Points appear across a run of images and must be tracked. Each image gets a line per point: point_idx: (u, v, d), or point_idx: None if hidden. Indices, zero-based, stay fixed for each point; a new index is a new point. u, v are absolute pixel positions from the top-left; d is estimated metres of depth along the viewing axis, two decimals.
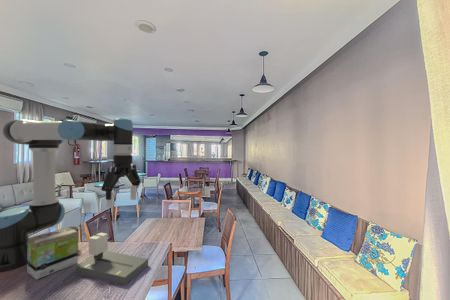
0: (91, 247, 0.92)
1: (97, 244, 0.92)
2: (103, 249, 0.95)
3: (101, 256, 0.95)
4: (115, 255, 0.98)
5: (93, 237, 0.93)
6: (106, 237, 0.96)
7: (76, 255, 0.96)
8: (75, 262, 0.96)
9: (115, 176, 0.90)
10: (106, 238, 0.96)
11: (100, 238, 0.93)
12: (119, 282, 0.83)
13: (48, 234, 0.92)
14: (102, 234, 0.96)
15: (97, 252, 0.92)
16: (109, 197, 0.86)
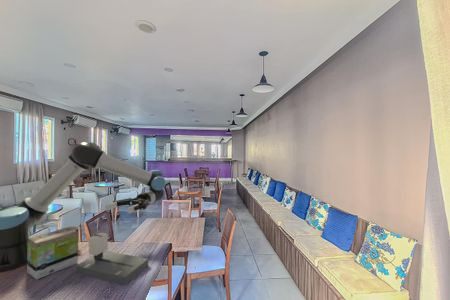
0: (91, 247, 0.92)
1: (97, 244, 0.92)
2: (103, 249, 0.95)
3: (101, 256, 0.95)
4: (115, 255, 0.98)
5: (93, 237, 0.93)
6: (106, 237, 0.96)
7: (76, 255, 0.96)
8: (75, 262, 0.96)
9: None
10: (106, 238, 0.96)
11: (100, 238, 0.93)
12: (119, 282, 0.83)
13: (48, 234, 0.92)
14: (102, 234, 0.96)
15: (97, 252, 0.92)
16: None
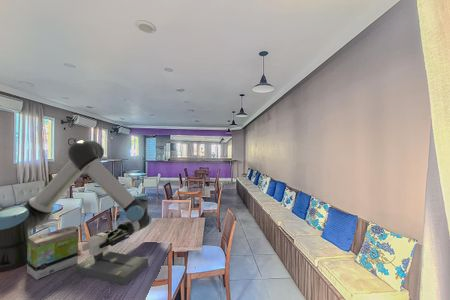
0: None
1: None
2: (103, 249, 0.95)
3: (101, 256, 0.95)
4: (115, 255, 0.98)
5: (93, 237, 0.93)
6: (106, 237, 0.96)
7: (76, 255, 0.96)
8: (75, 262, 0.96)
9: (117, 237, 1.01)
10: None
11: (100, 238, 0.93)
12: (119, 282, 0.83)
13: (48, 234, 0.92)
14: (102, 234, 0.96)
15: (97, 252, 0.92)
16: None
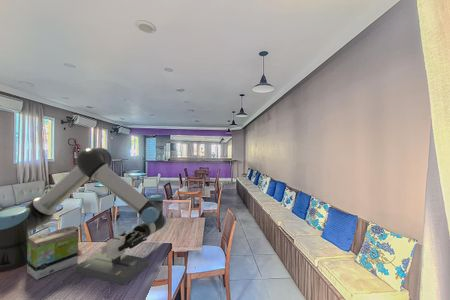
0: (109, 250, 0.89)
1: None
2: (121, 252, 0.92)
3: (119, 260, 0.92)
4: None
5: (111, 240, 0.90)
6: (124, 240, 0.93)
7: (76, 255, 0.96)
8: (75, 262, 0.96)
9: (134, 239, 0.99)
10: (124, 241, 0.93)
11: (118, 241, 0.90)
12: (119, 282, 0.83)
13: (48, 234, 0.92)
14: (120, 237, 0.93)
15: (115, 256, 0.89)
16: None
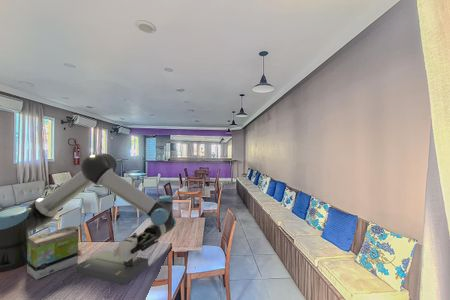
0: (121, 253, 0.87)
1: None
2: (133, 255, 0.90)
3: (131, 262, 0.90)
4: None
5: (123, 242, 0.88)
6: (136, 242, 0.91)
7: (76, 255, 0.96)
8: (75, 262, 0.96)
9: (146, 241, 0.97)
10: (136, 243, 0.91)
11: (130, 243, 0.88)
12: (119, 282, 0.83)
13: (48, 234, 0.92)
14: (132, 239, 0.91)
15: (128, 258, 0.87)
16: None
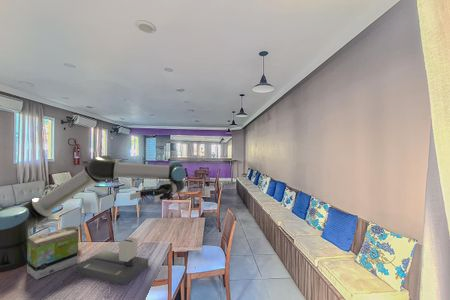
0: (121, 253, 0.87)
1: (128, 250, 0.87)
2: (133, 255, 0.90)
3: (131, 262, 0.90)
4: (115, 255, 0.98)
5: (123, 242, 0.88)
6: (136, 242, 0.91)
7: (76, 255, 0.96)
8: (75, 262, 0.96)
9: None
10: (136, 243, 0.91)
11: (131, 243, 0.88)
12: (119, 282, 0.83)
13: (48, 234, 0.92)
14: (132, 239, 0.91)
15: (128, 258, 0.87)
16: None
